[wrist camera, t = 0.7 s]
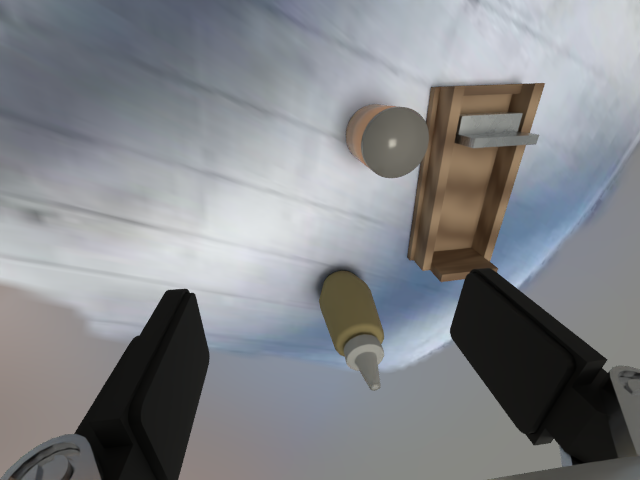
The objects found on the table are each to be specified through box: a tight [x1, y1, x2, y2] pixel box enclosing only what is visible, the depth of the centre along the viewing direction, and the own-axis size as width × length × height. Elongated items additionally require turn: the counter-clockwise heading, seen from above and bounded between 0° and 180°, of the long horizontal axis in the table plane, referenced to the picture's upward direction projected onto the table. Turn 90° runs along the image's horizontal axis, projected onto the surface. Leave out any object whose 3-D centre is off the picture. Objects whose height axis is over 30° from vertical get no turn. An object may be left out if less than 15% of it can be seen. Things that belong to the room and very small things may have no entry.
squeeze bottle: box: [319, 271, 384, 391], centre depth 37 cm, size 8×8×18 cm
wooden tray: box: [407, 83, 545, 282], centre depth 36 cm, size 24×12×7 cm, turn 2°
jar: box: [346, 104, 429, 178], centre depth 31 cm, size 7×7×8 cm
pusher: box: [454, 112, 539, 148], centre depth 32 cm, size 3×8×6 cm, turn 92°
